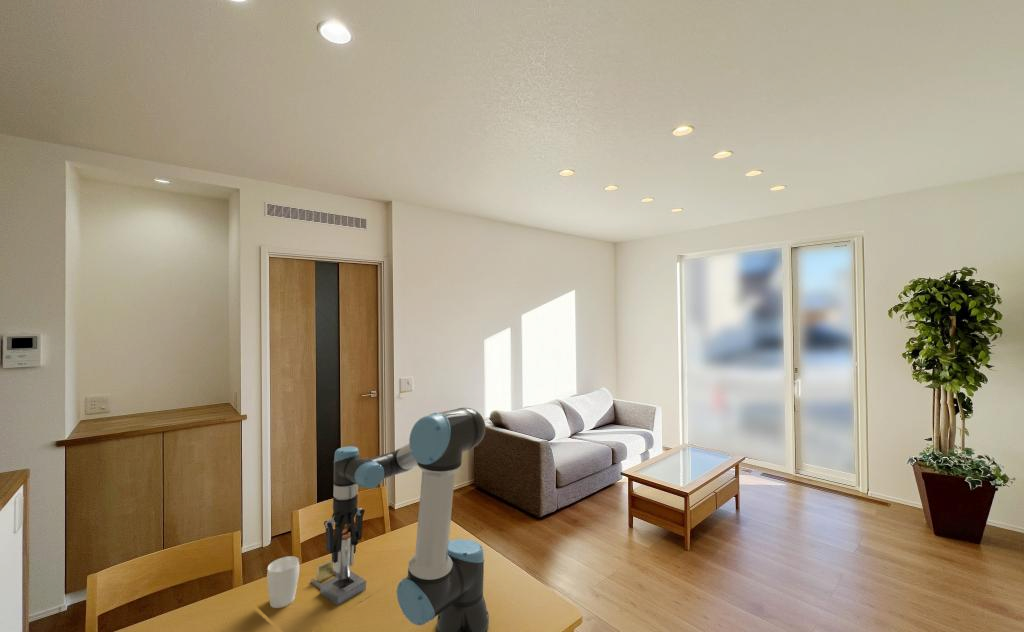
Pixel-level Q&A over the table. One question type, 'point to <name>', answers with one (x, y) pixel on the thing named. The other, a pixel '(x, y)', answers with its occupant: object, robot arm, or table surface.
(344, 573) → the pin
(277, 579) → the cup
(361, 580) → the block
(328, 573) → the keeper
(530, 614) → the table surface
